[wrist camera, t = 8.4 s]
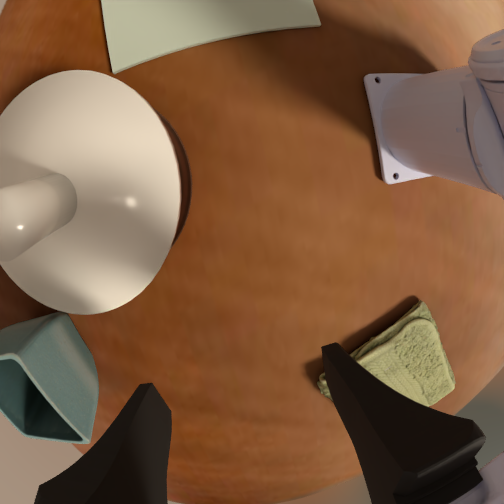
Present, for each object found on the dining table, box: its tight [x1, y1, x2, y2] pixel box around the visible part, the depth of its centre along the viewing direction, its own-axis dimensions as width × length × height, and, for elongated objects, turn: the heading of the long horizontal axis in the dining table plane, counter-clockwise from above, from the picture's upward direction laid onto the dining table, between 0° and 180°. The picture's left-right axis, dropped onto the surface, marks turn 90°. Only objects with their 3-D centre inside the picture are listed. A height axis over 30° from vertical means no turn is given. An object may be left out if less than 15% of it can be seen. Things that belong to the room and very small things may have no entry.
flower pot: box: [0, 312, 99, 444], centre depth 17 cm, size 9×9×9 cm
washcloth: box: [317, 300, 455, 407], centre depth 26 cm, size 13×18×3 cm
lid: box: [0, 70, 181, 315], centre depth 10 cm, size 12×12×5 cm
